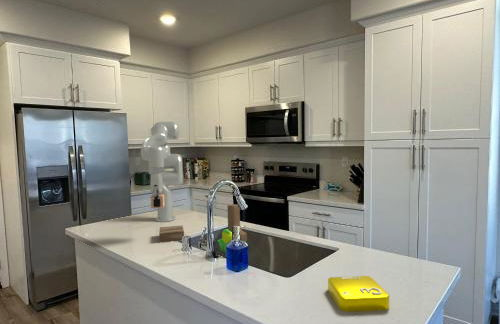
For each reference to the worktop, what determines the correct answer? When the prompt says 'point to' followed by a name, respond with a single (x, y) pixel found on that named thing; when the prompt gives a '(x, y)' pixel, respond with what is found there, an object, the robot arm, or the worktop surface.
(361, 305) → the element tile
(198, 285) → the worktop surface
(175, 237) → the walnut base block
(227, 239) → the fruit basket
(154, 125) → the robot arm
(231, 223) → the wooden block
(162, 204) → the terracotta cube
